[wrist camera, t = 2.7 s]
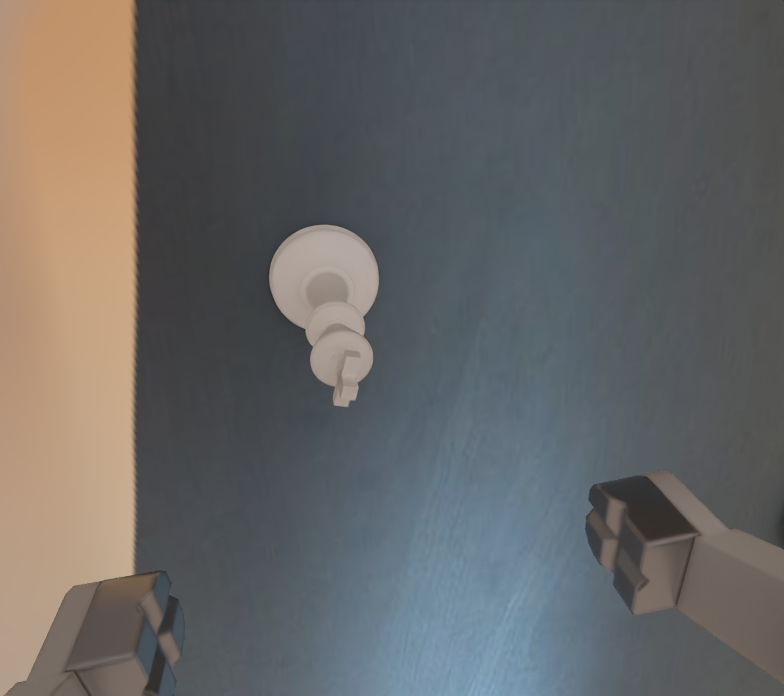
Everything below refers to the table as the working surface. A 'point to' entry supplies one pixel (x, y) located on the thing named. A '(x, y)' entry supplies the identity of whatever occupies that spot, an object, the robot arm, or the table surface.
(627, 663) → the table surface
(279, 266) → the chess piece
